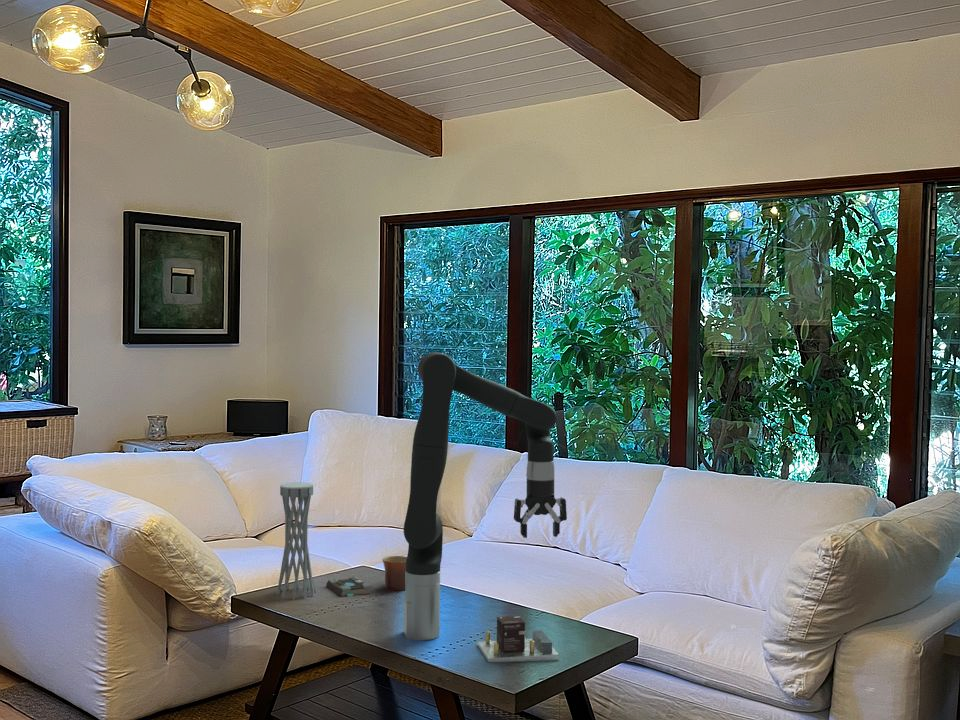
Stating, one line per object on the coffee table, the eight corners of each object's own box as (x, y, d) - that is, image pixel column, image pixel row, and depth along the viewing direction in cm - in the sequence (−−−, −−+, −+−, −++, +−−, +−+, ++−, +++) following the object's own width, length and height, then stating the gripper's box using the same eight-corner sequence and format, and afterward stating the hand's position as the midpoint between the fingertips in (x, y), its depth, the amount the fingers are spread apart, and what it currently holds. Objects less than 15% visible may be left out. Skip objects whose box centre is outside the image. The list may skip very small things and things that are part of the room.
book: (384, 602, 291) (385, 586, 291) (347, 608, 285) (347, 591, 285) (359, 587, 308) (359, 571, 308) (322, 591, 302) (323, 575, 302)
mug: (411, 594, 298) (412, 562, 298) (383, 596, 297) (383, 562, 296) (407, 584, 310) (407, 553, 310) (380, 585, 308) (380, 553, 308)
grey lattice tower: (306, 608, 282) (307, 489, 281) (264, 604, 286) (265, 487, 285) (325, 596, 295) (326, 482, 294) (286, 592, 299) (286, 480, 298)
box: (501, 652, 241) (502, 623, 241) (496, 645, 247) (496, 616, 247) (525, 651, 242) (525, 622, 242) (519, 643, 248) (519, 615, 248)
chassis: (488, 664, 237) (488, 646, 237) (477, 647, 250) (477, 630, 249) (558, 660, 241) (558, 642, 240) (544, 643, 253) (544, 626, 253)
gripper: (518, 480, 256) (517, 540, 256) (569, 478, 259) (569, 538, 259) (511, 475, 263) (511, 534, 264) (562, 474, 266) (561, 533, 267)
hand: (540, 536), depth 261 cm, fingers open, 8 cm apart
